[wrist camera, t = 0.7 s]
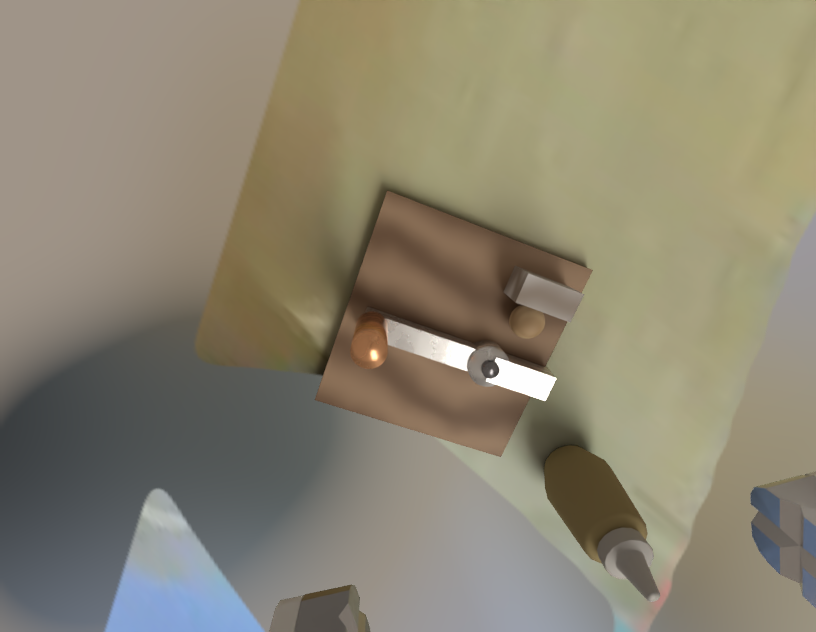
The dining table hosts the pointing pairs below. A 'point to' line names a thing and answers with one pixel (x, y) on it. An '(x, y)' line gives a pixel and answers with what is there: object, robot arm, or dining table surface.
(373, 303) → the walnut board
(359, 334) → the lever
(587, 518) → the squeeze bottle
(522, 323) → the tan wooden ball
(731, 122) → the dining table surface
